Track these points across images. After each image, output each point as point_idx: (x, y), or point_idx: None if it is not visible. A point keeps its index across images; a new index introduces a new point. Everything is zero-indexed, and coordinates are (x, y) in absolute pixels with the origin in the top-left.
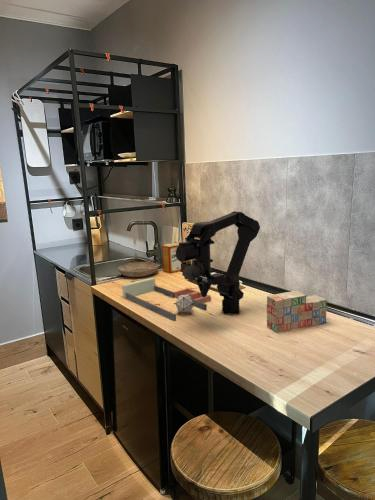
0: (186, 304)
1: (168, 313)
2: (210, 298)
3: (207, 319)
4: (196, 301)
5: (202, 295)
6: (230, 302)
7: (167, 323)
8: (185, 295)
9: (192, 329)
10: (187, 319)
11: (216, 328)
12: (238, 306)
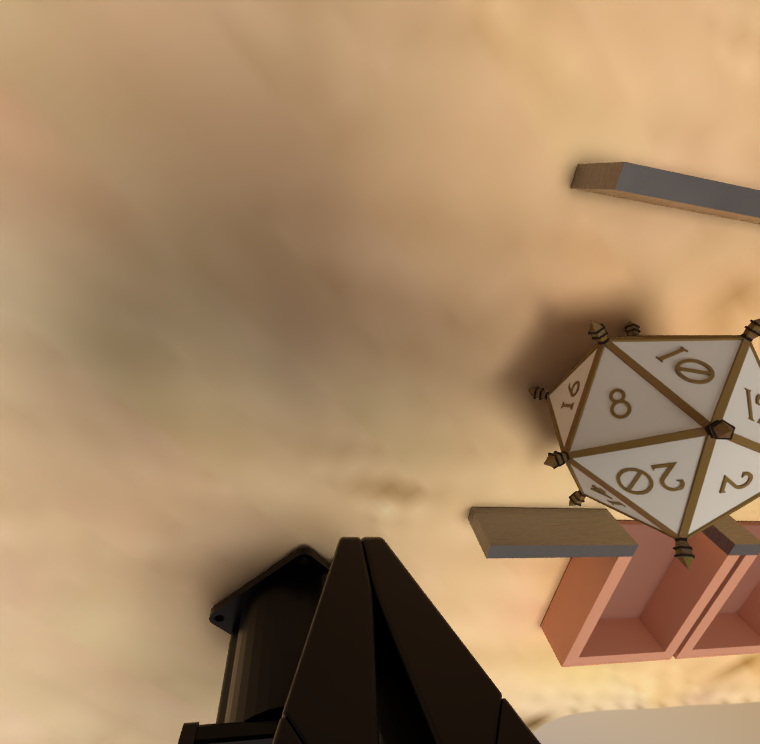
0: (615, 397)
1: (713, 183)
2: (549, 642)
3: (338, 400)
4: (597, 546)
5: (371, 558)
6: (255, 679)
7: (616, 60)
8: (727, 501)
9: (277, 108)
10: (491, 286)
11: (108, 302)
12: (226, 673)
